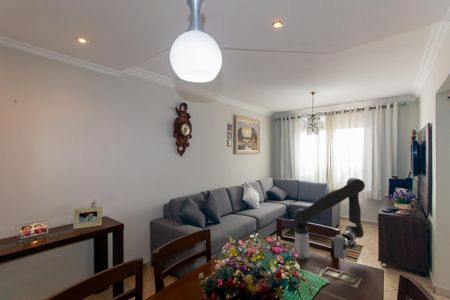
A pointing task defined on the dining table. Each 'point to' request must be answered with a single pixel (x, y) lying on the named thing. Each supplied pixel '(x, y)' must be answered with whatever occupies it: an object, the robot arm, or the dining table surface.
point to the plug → (339, 246)
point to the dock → (341, 276)
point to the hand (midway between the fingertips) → (338, 246)
